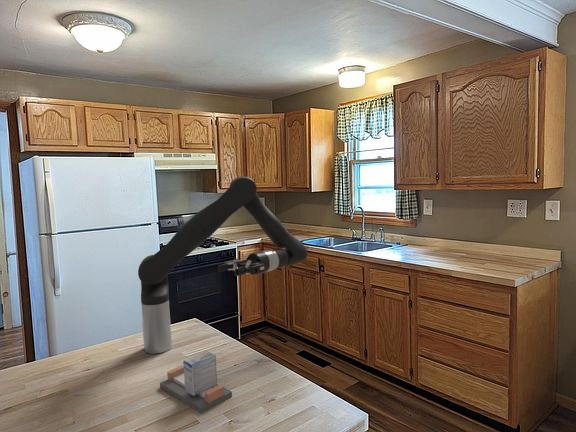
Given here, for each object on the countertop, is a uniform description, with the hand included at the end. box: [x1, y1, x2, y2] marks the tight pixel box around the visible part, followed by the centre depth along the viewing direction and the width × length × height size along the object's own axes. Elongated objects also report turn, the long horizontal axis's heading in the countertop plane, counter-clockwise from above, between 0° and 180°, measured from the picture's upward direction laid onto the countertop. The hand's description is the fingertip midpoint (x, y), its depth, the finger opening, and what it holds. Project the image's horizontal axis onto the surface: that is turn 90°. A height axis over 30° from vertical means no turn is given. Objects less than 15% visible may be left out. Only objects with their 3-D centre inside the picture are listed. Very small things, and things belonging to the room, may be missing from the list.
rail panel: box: [159, 365, 233, 414], centre depth 111 cm, size 20×10×4 cm, turn 48°
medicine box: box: [182, 350, 218, 396], centre depth 108 cm, size 8×4×9 cm, turn 138°
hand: (226, 270), depth 127 cm, fingers open, 8 cm apart
